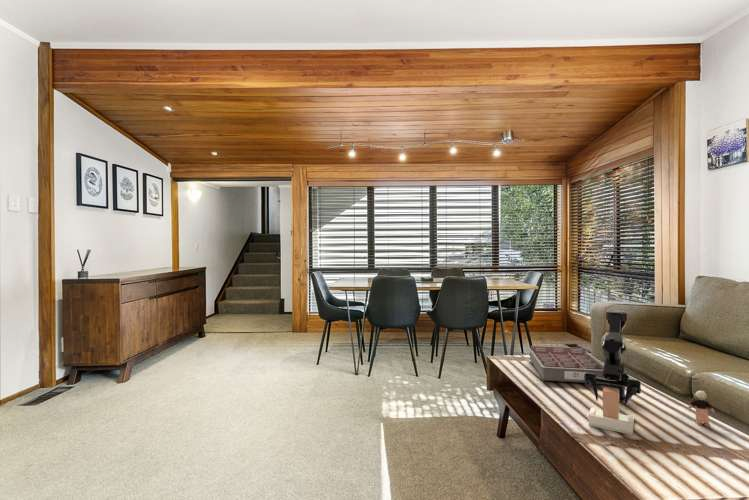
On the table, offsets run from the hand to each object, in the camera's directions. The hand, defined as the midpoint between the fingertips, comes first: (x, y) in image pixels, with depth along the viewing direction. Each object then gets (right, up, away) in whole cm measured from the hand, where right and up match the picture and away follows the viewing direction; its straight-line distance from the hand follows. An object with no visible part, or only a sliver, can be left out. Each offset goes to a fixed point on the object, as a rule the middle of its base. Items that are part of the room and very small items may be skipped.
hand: (610, 402), depth 149 cm
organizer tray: (+14, -9, +65) cm, 67 cm away
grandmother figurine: (+35, -9, +1) cm, 36 cm away
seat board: (+2, -9, +3) cm, 9 cm away
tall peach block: (+1, -8, +1) cm, 8 cm away
